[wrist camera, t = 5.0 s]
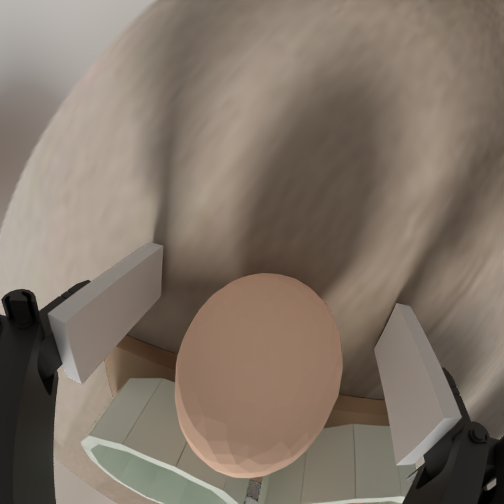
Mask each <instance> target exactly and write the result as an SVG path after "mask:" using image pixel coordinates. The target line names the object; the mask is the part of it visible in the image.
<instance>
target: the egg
mask: <svg viewBox="0 0 504 504" xmlns="http://www.w3.org/2000/svg"><path fill="white" fill-rule="evenodd" d="M342 370H343V363H342V351H341V340H340V335H339V332H338V329H337V326H336V323H335V320H334V317H333V315H332V313H331V312H330V310H329V308H328V307H327V305H326V303H325V302H324V301H323V300H322V299H321V298H320V297H319V296H318V295H317V294H316V293H315V292H314V291H313V290H312V289H311V288H310V287H309V286H307V285H305V284H304V283H302V282H300V281H299V280H297V279H295V278H292V277H288V276H285V275H281V274H271V273H259V274H253V275H248V276H245V277H242V278H239V279H237V280H234V281H232V282H230V283H229V284H227V285H226V286H225V287H223V288H222V289H220V290H219V291H217V292H216V293H214V294H213V295H212V296H211V297H210V298H209V299H208V300H207V301H206V302H205V304H204V305H203V306H202V307H201V308H200V309H199V311H198V312H197V314H196V316H195V317H194V319H193V321H192V322H191V324H190V326H189V328H188V330H187V332H186V334H185V336H184V338H183V341H182V344H181V347H180V350H179V353H178V356H177V362H176V375H175V403H176V409H177V414H178V419H179V424H180V428H181V430H182V432H183V434H184V436H185V438H186V440H187V442H188V444H189V446H190V447H191V449H192V450H193V451H194V453H195V454H196V455H197V456H198V457H199V458H200V459H201V460H202V461H204V462H205V463H206V464H207V465H208V466H210V467H211V468H213V469H214V470H215V471H217V472H220V473H223V474H225V475H228V476H231V477H235V478H255V477H260V476H265V475H268V474H270V473H273V472H275V471H277V470H280V469H282V468H284V467H287V466H288V465H289V464H291V463H292V462H294V461H295V460H296V459H297V458H299V457H300V456H301V455H302V454H303V453H304V452H305V451H306V450H307V449H308V448H309V447H310V445H311V444H312V443H313V441H314V440H315V439H316V437H317V436H318V435H319V433H320V432H321V431H322V429H323V428H324V426H325V424H326V421H327V419H328V417H329V415H330V413H331V411H332V409H333V406H334V404H335V402H336V400H337V397H338V395H339V389H340V383H341V376H342Z"/></svg>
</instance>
